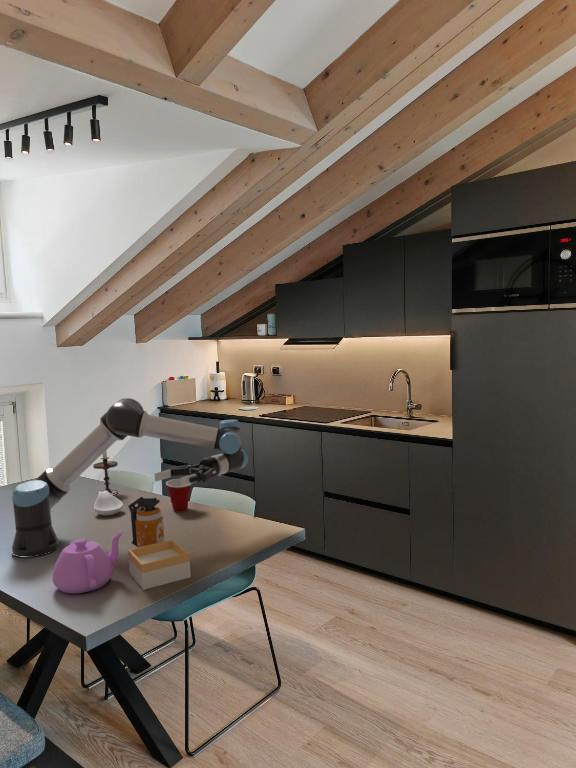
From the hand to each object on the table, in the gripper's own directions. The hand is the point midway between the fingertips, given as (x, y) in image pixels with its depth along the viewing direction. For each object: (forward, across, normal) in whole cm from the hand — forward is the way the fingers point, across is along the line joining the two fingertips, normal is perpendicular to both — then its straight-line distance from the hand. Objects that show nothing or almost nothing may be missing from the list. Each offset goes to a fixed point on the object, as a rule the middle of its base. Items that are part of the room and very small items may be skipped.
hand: (167, 479), depth 206 cm
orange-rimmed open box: (+18, -15, -24) cm, 33 cm away
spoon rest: (-13, +60, -24) cm, 66 cm away
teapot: (+33, -2, -24) cm, 41 cm away
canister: (+10, 0, -24) cm, 26 cm away
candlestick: (-28, +81, -24) cm, 89 cm away
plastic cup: (-30, +32, -24) cm, 50 cm away
